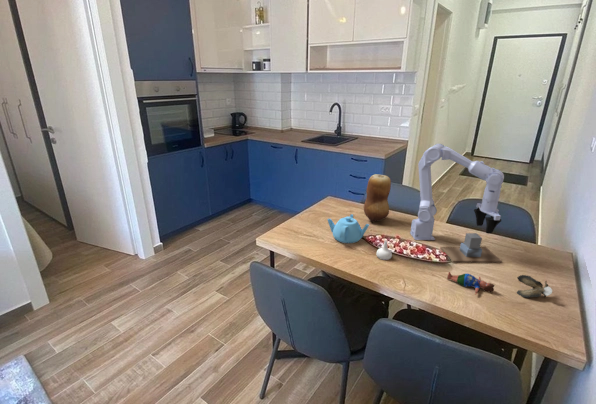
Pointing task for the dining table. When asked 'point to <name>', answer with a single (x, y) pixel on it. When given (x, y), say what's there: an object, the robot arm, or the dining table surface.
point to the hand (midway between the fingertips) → (484, 229)
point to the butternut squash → (377, 197)
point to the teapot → (347, 230)
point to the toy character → (471, 282)
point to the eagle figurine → (533, 287)
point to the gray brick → (472, 240)
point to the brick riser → (470, 255)
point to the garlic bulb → (384, 252)
